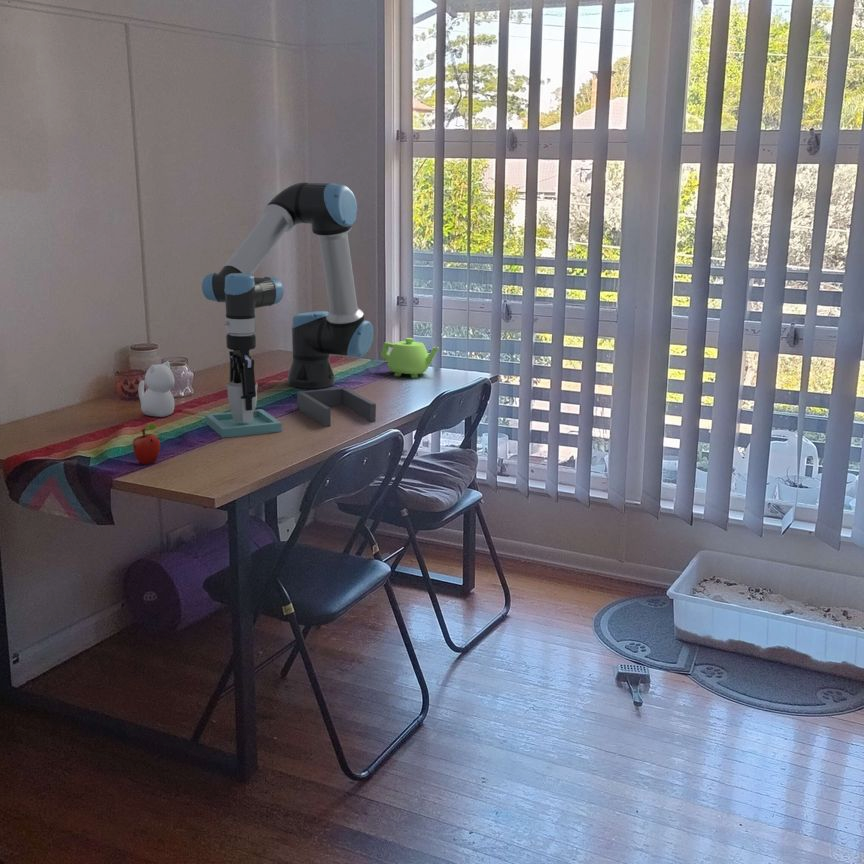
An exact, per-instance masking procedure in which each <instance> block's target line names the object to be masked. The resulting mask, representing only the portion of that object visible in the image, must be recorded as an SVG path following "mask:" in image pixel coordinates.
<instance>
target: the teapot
mask: <svg viewBox="0 0 864 864" xmlns="http://www.w3.org/2000/svg"><path fill="white" fill-rule="evenodd" d="M390 348H391V351H390V353H389V349H390ZM439 349H440V348H439V347H438V346H434V347H432V349H431V351H430V353H428V350H427V348H426V346H425V344H424V343H423V342H420V341H414V338H413V337H405V338H404V340H401V341H397V342H396V343H394V342H388V341H385V342H383V345H382V349H381V353H380V357H382V359H384V360H385V361H386V362H387V367H388V369H389V371H391V373H392V372H393V373H394V374H393V377H401V376H402V374H405V375H410V378H412V379H418V378H419V375H424V373H426V372H427V370H428V369H429V367H430V365H431V364H432V361H433V359H434V358H435V356H436V354H437V352H438V351H439Z"/></svg>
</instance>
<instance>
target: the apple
mask: <svg viewBox="0 0 864 864" xmlns="http://www.w3.org/2000/svg"><path fill="white" fill-rule="evenodd" d="M155 429H157V427H156V425H155V424H154V423H149V424H148V425H147V426H146V427H144V428H141V432H142V435H140V436H136V437H135V438H134V439H133V440H132V449H133V453H134V456H135V458H136V460H137V462H138V463H140V464H141V465H149V464H154V463H155V462H156V461H157V460H158V457H159V455H160V451H161V441H160V438H159V437H158V436H157V435H156V434H153V433H147V434H146V430H150V431H151V430H155Z"/></svg>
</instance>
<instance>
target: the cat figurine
mask: <svg viewBox="0 0 864 864" xmlns="http://www.w3.org/2000/svg"><path fill="white" fill-rule="evenodd" d="M175 381H176V380H175V376H174V374H173V371H172V370H171V365H170V361H169V360H166V361H164V362H163V363H161V364H158V363H157V364H151V365H150V367H148V369H147V370H146V372H145V376H144V380H142V379H141V380H140V382H139V384H138V391H137V392H138V398H139V401H140V410H141V411H142V414H144V415H145V416H149V417H150V416H151V417H158V418H164V417H168V416H170V415H172V414H173V413H174V411H175V397H174V395H173V393H172V391H171V390H172V389H173V388H174V386H175V383H176V382H175ZM145 385H146V387H147V389H146V390H145Z"/></svg>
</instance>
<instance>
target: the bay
mask: <svg viewBox="0 0 864 864" xmlns="http://www.w3.org/2000/svg"><path fill="white" fill-rule="evenodd" d="M296 404H297V405H296V406H297V407H296V409H297V410H299V411H301V412H302V413H304V414H305V415H307V416H308V417H310V418H311V419H313V420H315V421H316V422H318V423H319V424H321V425H322V426H323V427H331V425H332V423H331V422H332V421H331V420H332V418H331V415H332V413H331V412H332V410H331V408H332V407H338V406H339V407H341V406H343V408H347V409H348V410H349V411H351V412H352V413H354V414H356V415H358V416H360V417H362V419H365V420H367V421H368V422H371V423H373V422H376V421H377V418H376V415H377V413H376V412H377V411H376V410H377V409H376V408H377V407H376V406H377V404H376V403H375V402H373V401H371V400H370V399H367V398H366V397H363V396H362V395H360V394H359V393H356V392H354V391H352V390H350V389H349V388H347V387H345V386H344V387H335V388H326V389H325V388H321V389H313V390H311V389H310V390H302V391H297V392H296Z"/></svg>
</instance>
